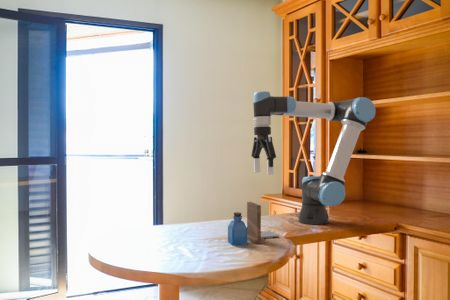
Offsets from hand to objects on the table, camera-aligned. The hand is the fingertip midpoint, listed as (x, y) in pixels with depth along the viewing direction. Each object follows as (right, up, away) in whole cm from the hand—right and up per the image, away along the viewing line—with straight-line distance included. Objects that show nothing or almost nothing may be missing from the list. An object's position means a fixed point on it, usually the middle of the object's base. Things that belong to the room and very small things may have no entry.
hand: (263, 173), depth 178 cm
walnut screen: (-6, -26, -16) cm, 32 cm away
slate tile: (0, -26, -9) cm, 28 cm away
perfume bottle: (-12, -27, -21) cm, 36 cm away
